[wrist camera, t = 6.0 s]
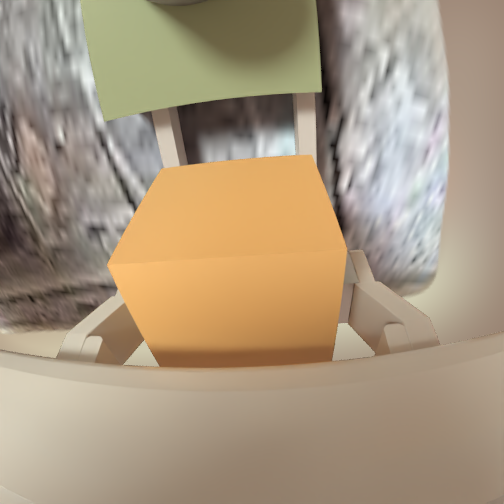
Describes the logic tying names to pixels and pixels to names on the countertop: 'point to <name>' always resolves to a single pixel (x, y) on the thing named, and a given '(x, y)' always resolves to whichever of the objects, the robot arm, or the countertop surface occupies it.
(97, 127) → the countertop surface
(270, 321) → the tall orange cuboid
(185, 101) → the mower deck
